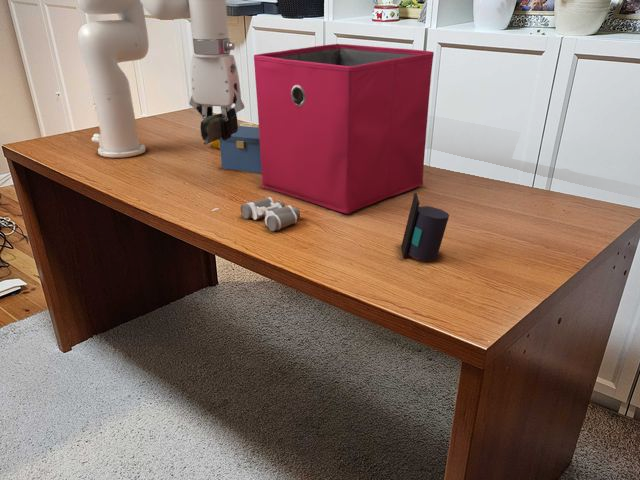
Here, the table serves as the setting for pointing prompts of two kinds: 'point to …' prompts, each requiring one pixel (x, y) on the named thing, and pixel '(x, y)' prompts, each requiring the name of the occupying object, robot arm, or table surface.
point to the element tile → (217, 143)
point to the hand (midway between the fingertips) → (219, 137)
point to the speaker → (424, 231)
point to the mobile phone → (215, 128)
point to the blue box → (242, 150)
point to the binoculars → (271, 213)
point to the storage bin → (343, 122)
